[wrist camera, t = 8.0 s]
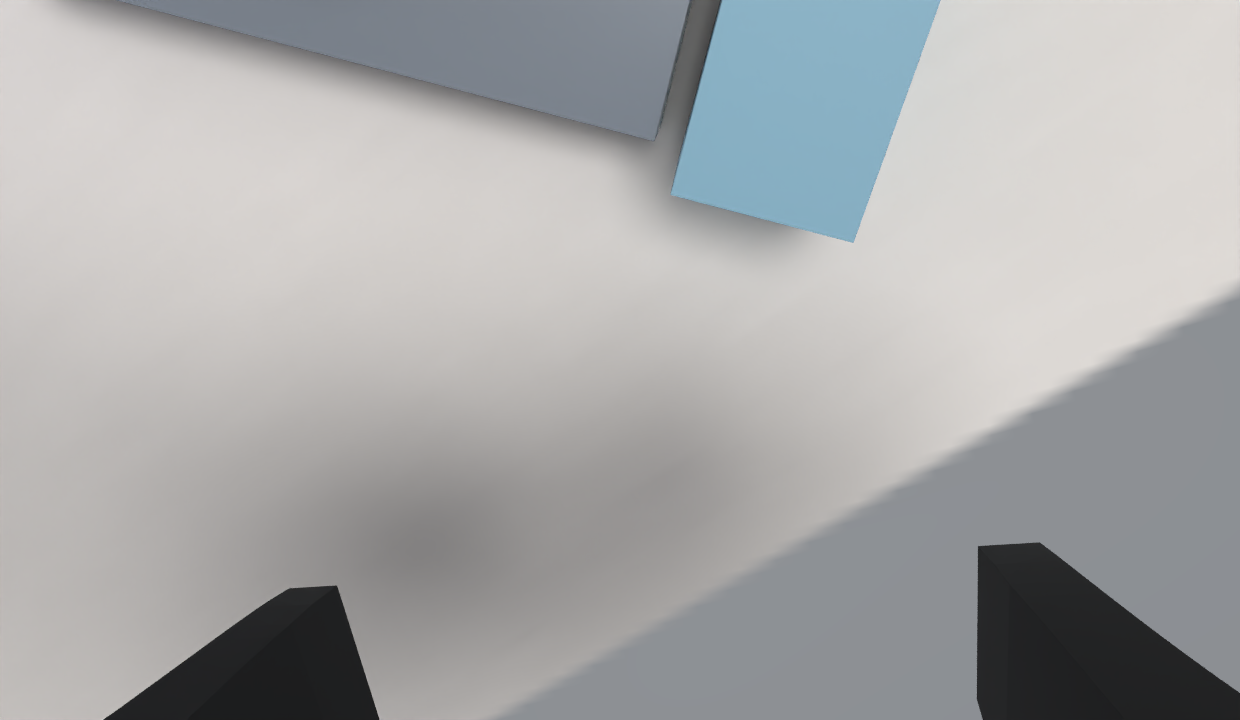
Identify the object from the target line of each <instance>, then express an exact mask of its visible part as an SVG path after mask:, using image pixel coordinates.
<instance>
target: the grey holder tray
mask: <svg viewBox="0 0 1240 720" xmlns="http://www.w3.org/2000/svg"><path fill="white" fill-rule="evenodd" d="M117 1H121V2H125V3H129V4H133V5H137V6H140V7H144V8H148V9H152V10H156V11H159V12H163V13H167V14H171V15H175V16H178V17H182V18H186V19H190V20H194V21H197V22H201V23H205V24H209V25H213V26H217V27H220V28H224V29H228V30H232V31H236V32H239V33H243V34H247V35H251V36H255V37H258V38H262V39H266V40H270V41H274V42H278V43H281V44H285V45H289V46H293V47H297V48H300V49H304V50H308V51H312V52H316V53H319V54H323V55H327V56H331V57H335V58H338V59H342V60H346V61H350V62H354V63H358V64H361V65H365V66H369V67H373V68H377V69H380V70H384V71H388V72H392V73H396V74H399V75H403V76H407V77H411V78H415V79H418V80H422V81H426V82H430V83H434V84H438V85H441V86H445V87H449V88H453V89H457V90H460V91H464V92H468V93H472V94H476V95H479V96H483V97H487V98H491V99H495V100H498V101H502V102H506V103H510V104H514V105H518V106H521V107H525V108H529V109H533V110H537V111H540V112H544V113H548V114H552V115H556V116H559V117H563V118H567V119H571V120H575V121H579V122H582V123H586V124H590V125H594V126H598V127H601V128H605V129H609V130H613V131H617V132H620V133H624V134H628V135H632V136H636V137H639V138H643V139H647V140H651V141H654V140H655V138H656V136H657V134H658V131H659V129H660V126H661V123H662V119H663V115H664V111H665V107H666V103H667V99H668V95H669V91H670V87H671V83H672V79H673V75H674V71H675V67H676V63H677V59H678V55H679V51H680V47H681V44H682V40H683V36H684V32H685V28H686V24H687V20H688V16H689V12H690V8H691V4H692V0H117Z"/></svg>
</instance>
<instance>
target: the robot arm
mask: <svg viewBox="0 0 1240 720" xmlns="http://www.w3.org/2000/svg"><path fill="white" fill-rule="evenodd" d="M977 628H978V630H977V701H978V704H979V708H980V711H981V715H982V718H983V720H1240V693H1239V692H1238V691H1236V690H1235V689H1233V688H1232V687H1230V686H1229V685H1228V684H1226V683H1225V682H1223V681H1222V680H1220V679H1219V678H1218V677H1216V676H1215V675H1213V674H1212V673H1211V672H1209V671H1208V670H1206V669H1205V668H1203V667H1202V666H1201V665H1200V664H1198V663H1197V662H1195V661H1194V660H1193V659H1191V658H1190V657H1189V656H1187V655H1186V654H1184V653H1183V652H1182V651H1180V650H1179V649H1178V648H1176V647H1175V646H1174V645H1172V644H1171V643H1170V642H1168V641H1167V640H1166V639H1164V638H1163V637H1162V636H1160V635H1159V634H1158V633H1156V632H1155V631H1153V630H1152V629H1151V628H1150V627H1148V626H1147V625H1146V624H1144V623H1143V622H1142V621H1140V620H1139V619H1138V618H1136V617H1135V616H1134V615H1133V614H1131V613H1130V612H1129V611H1127V610H1126V609H1125V608H1124V607H1122V606H1121V605H1120V604H1118V603H1117V602H1116V601H1114V600H1113V599H1112V598H1110V597H1109V596H1108V595H1107V594H1105V593H1104V592H1103V591H1102V590H1100V589H1099V588H1098V587H1096V586H1095V585H1094V584H1093V583H1091V582H1090V581H1089V580H1088V579H1086V578H1085V577H1084V576H1082V575H1081V574H1080V573H1078V572H1077V571H1076V570H1075V569H1073V568H1072V567H1071V566H1070V565H1068V564H1067V563H1066V562H1065V561H1063V560H1062V559H1061V558H1059V557H1058V556H1057V555H1056V554H1054V553H1053V552H1051V551H1050V550H1049V549H1048V548H1046V547H1045V546H1044V545H1042V544H1041V543H1025V544H1007V545H990V546H978V623H977ZM104 720H379V717H378V714H377V710H376V707H375V704H374V701H373V698H372V695H371V692H370V688H369V685H368V682H367V679H366V676H365V673H364V669H363V666H362V663H361V660H360V657H359V654H358V650H357V647H356V644H355V641H354V638H353V635H352V632H351V628H350V625H349V622H348V619H347V616H346V613H345V609H344V606H343V603H342V600H341V597H340V594H339V590H338V587H337V586H322V587H306V588H290V589H288V590H286V591H284V592H283V593H281V594H279V595H278V596H276V597H274V598H273V599H271V600H270V601H268V602H267V603H265V604H264V605H262V606H261V607H259V608H258V609H256V610H255V611H253V612H252V613H250V614H249V615H248V616H246V617H245V618H243V619H242V620H240V621H239V622H238V623H236V624H235V625H233V626H232V627H231V628H229V629H228V630H226V631H225V632H224V633H222V634H221V635H220V636H218V637H217V638H215V639H214V640H213V641H211V642H210V643H209V644H207V645H206V646H204V647H203V648H202V649H200V650H199V651H198V652H196V653H195V654H194V655H192V656H191V657H189V658H188V659H187V660H185V661H184V662H183V663H181V664H180V665H178V666H177V667H176V668H174V669H173V670H172V671H170V672H169V673H167V674H166V675H165V676H163V677H162V678H161V679H159V680H158V681H157V682H155V683H154V684H152V685H151V686H150V687H148V688H147V689H146V690H144V691H143V692H141V693H140V694H139V695H137V696H136V697H135V698H133V699H132V700H130V701H129V702H128V703H126V704H125V705H124V706H122V707H121V708H119V709H118V710H117V711H115V712H114V713H112V714H111V715H109V716H108V717H107V718H105V719H104Z"/></svg>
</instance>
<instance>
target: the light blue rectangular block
mask: <svg viewBox="0 0 1240 720" xmlns="http://www.w3.org/2000/svg"><path fill="white" fill-rule="evenodd" d="M939 3H940V0H720V4H719V8H718V12H717V15H716V19H715V23H714V27H713V31H712V34H711V38H710V42H709V46H708V49H707V53H706V57H705V61H704V64H703V68H702V72H701V76H700V80H699V83H698V87H697V91H696V95H695V98H694V102H693V106H692V110H691V113H690V117H689V121H688V125H687V129H686V132H685V136H684V140H683V144H682V147H681V151H680V155H679V159H678V163H677V168H676V172H675V177H674V181H673V186H672V191H671V195H673V196H677V197H681V198H684V199H688V200H692V201H696V202H700V203H704V204H707V205H711V206H715V207H719V208H723V209H726V210H730V211H734V212H738V213H742V214H745V215H749V216H753V217H757V218H761V219H765V220H768V221H772V222H776V223H780V224H784V225H787V226H791V227H795V228H799V229H803V230H806V231H810V232H814V233H818V234H822V235H826V236H829V237H833V238H837V239H841V240H845V241H848V242H852V243H853V242H854V240H855V237H856V234H857V231H858V228H859V226H860V223H861V220H862V217H863V214H864V212H865V209H866V206H867V203H868V201H869V198H870V195H871V192H872V189H873V187H874V184H875V181H876V178H877V176H878V173H879V170H880V167H881V164H882V162H883V159H884V156H885V153H886V151H887V148H888V145H889V142H890V139H891V137H892V134H893V131H894V128H895V126H896V123H897V120H898V117H899V114H900V112H901V109H902V106H903V103H904V100H905V98H906V95H907V92H908V89H909V87H910V84H911V81H912V78H913V75H914V73H915V70H916V67H917V64H918V62H919V59H920V56H921V53H922V50H923V48H924V45H925V42H926V39H927V37H928V34H929V31H930V28H931V25H932V23H933V20H934V17H935V14H936V12H937V9H938V6H939Z"/></svg>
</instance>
